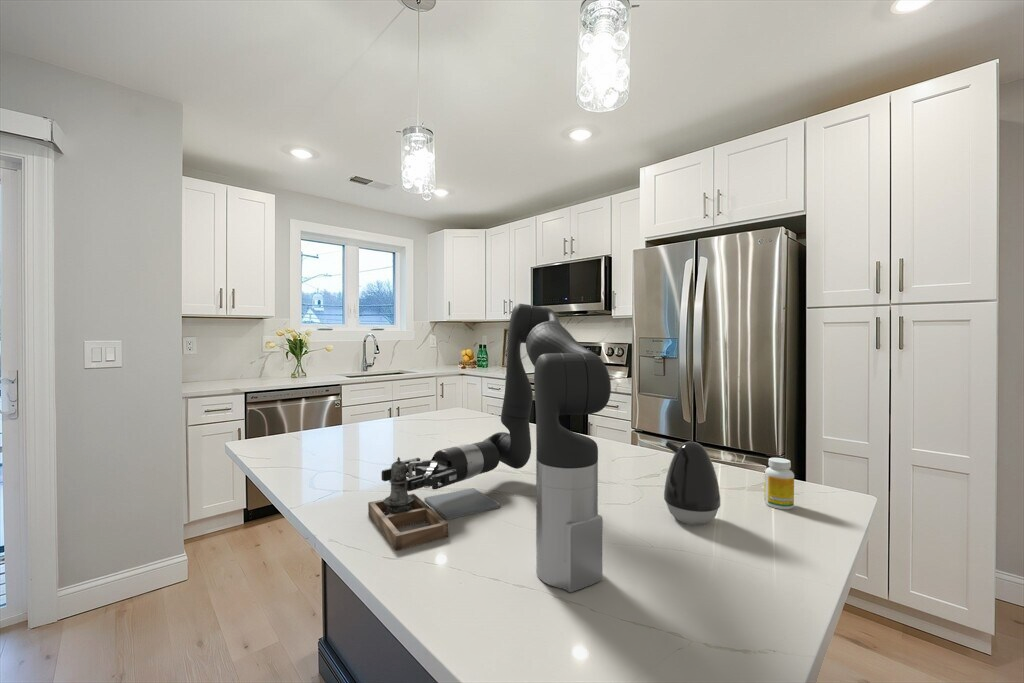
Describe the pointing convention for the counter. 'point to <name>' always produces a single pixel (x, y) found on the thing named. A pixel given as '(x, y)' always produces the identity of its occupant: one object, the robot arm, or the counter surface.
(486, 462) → the robot arm
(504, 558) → the counter surface
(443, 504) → the slate tile
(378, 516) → the spice caddy
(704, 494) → the pump dispenser
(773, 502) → the supplement bottle
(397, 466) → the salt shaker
